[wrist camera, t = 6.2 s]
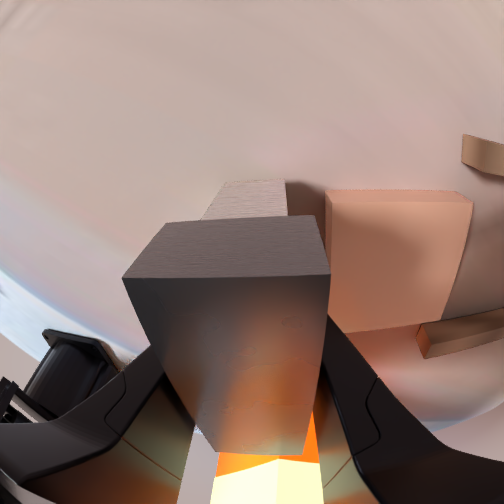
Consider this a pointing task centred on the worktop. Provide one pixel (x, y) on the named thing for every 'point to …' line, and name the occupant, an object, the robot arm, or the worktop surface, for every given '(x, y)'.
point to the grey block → (239, 316)
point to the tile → (392, 255)
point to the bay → (479, 325)
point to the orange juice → (270, 477)
